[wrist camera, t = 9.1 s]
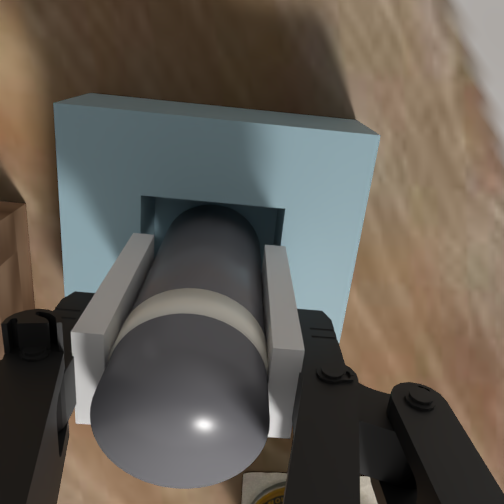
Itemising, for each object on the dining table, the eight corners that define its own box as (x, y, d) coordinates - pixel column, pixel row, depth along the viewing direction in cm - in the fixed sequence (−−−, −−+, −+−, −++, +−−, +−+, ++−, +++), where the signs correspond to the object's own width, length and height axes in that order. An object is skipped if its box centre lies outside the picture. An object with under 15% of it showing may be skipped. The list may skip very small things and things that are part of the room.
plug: (163, 198, 19) (84, 337, 10) (266, 208, 19) (283, 353, 10) (161, 290, 21) (90, 484, 11) (255, 298, 21) (261, 495, 12)
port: (90, 93, 20) (46, 104, 15) (356, 120, 20) (385, 138, 16) (97, 324, 24) (64, 384, 20) (316, 342, 24) (331, 404, 20)
